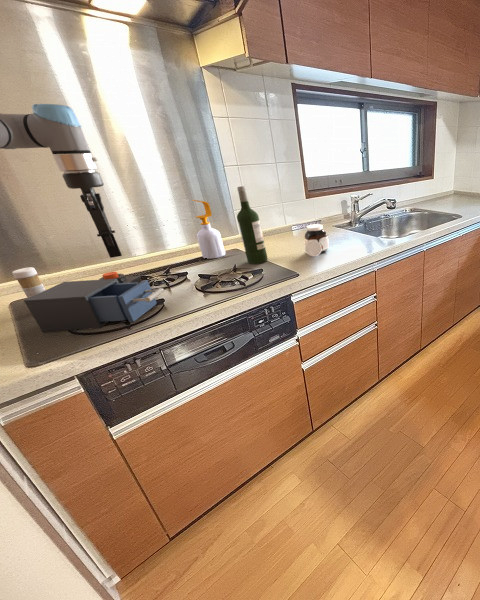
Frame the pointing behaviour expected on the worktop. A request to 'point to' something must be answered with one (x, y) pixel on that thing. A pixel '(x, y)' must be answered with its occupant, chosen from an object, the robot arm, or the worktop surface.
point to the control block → (127, 279)
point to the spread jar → (316, 240)
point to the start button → (110, 275)
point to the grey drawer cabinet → (67, 305)
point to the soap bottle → (209, 237)
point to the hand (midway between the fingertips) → (116, 256)
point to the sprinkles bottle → (29, 281)
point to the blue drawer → (124, 301)
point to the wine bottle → (251, 231)
